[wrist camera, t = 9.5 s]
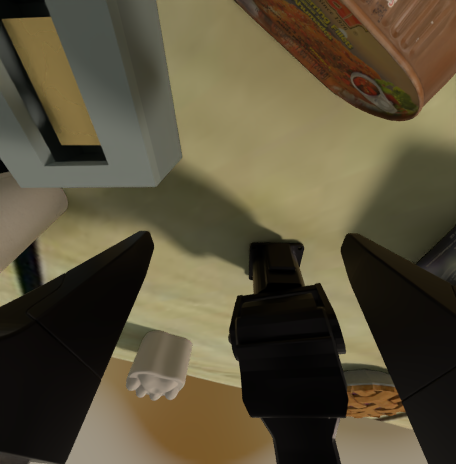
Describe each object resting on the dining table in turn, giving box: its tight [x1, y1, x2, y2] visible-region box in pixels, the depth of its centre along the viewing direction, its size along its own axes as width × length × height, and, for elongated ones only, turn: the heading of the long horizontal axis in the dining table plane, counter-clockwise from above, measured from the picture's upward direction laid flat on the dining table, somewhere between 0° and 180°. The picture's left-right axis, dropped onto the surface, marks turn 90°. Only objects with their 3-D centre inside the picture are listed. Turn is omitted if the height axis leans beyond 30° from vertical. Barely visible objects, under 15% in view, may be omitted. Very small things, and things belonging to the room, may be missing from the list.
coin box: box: [0, 0, 182, 188], centre depth 13 cm, size 11×10×7 cm
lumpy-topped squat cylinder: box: [126, 330, 192, 400], centre depth 40 cm, size 10×13×9 cm
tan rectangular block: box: [1, 17, 101, 145], centre depth 14 cm, size 6×3×5 cm, turn 1°
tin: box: [235, 0, 456, 121], centre depth 10 cm, size 15×3×8 cm, turn 58°
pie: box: [343, 370, 406, 418], centre depth 47 cm, size 22×22×5 cm
